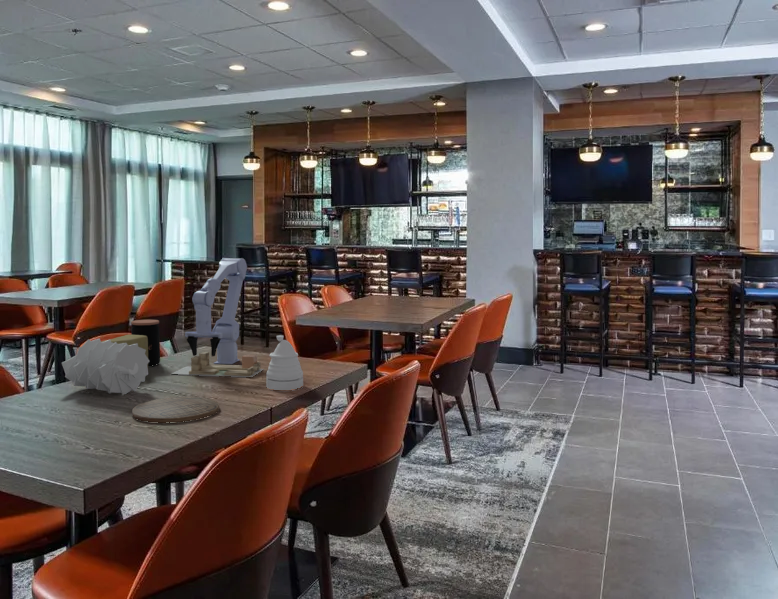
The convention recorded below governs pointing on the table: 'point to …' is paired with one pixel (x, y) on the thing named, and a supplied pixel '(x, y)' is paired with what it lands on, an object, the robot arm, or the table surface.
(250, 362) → the cube
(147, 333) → the coffee jar
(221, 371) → the mat
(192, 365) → the broken strip
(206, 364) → the beige wooden beam
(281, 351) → the honey pot
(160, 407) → the trivet
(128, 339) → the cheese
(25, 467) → the table surface
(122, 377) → the white spiky cylinder
